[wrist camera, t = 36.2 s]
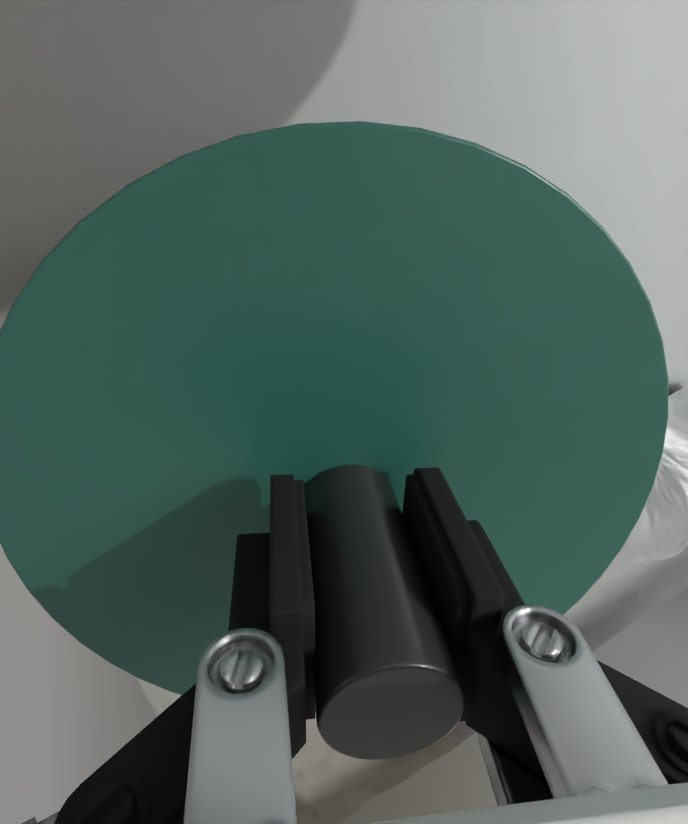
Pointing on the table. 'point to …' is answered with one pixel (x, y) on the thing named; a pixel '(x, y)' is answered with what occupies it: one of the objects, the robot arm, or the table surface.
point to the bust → (664, 496)
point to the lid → (324, 403)
